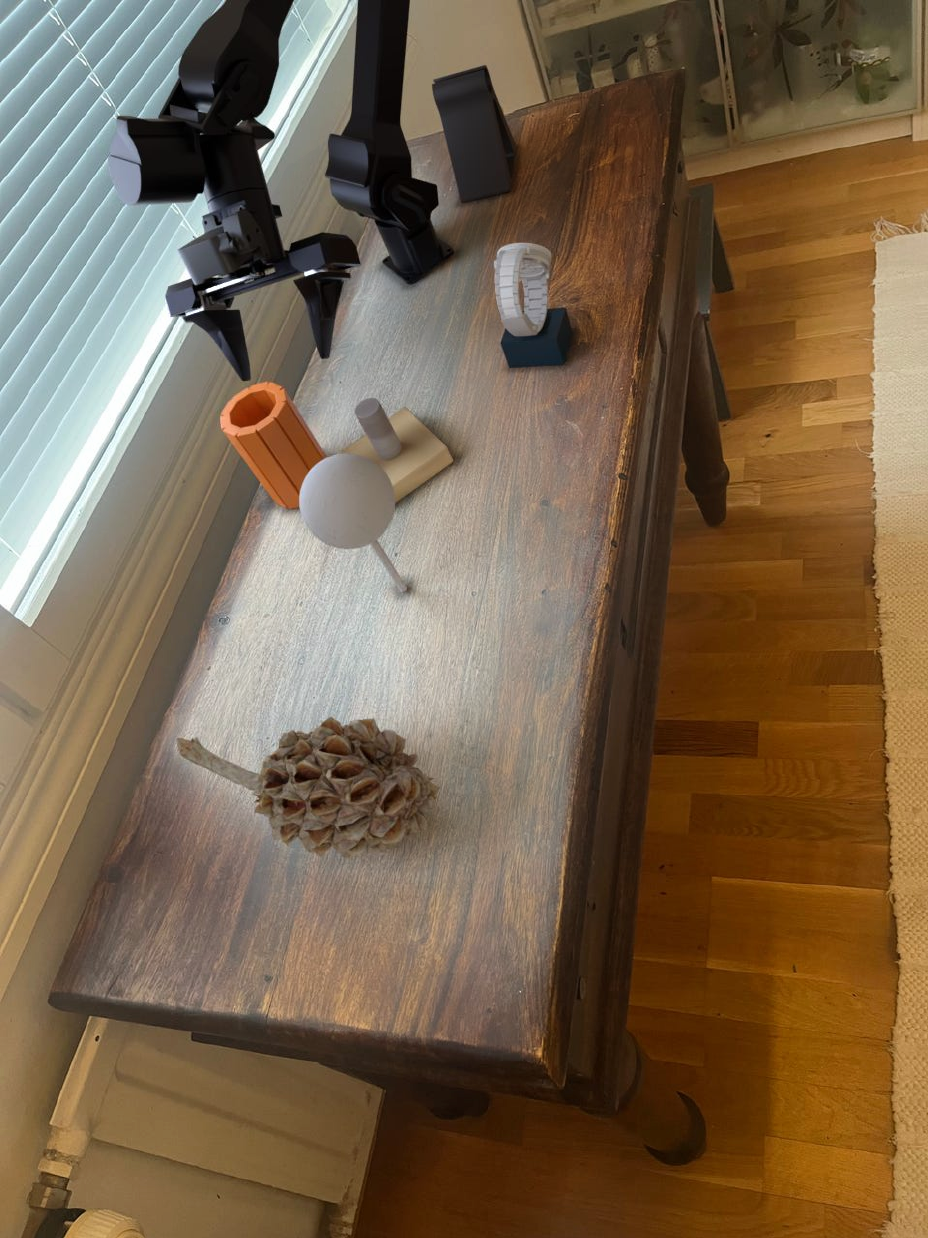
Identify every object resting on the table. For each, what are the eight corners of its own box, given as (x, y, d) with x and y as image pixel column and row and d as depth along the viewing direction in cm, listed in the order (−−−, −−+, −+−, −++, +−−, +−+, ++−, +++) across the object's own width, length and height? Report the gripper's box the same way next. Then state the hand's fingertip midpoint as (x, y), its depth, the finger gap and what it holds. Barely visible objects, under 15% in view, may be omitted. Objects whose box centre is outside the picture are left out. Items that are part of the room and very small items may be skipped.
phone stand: (510, 192, 106) (480, 89, 97) (461, 204, 108) (426, 103, 99) (517, 148, 111) (488, 45, 102) (470, 160, 113) (437, 60, 104)
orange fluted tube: (262, 485, 92) (209, 412, 84) (317, 447, 92) (269, 371, 84) (288, 519, 88) (235, 447, 80) (345, 479, 88) (297, 403, 80)
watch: (577, 319, 91) (550, 220, 82) (560, 377, 87) (530, 280, 78) (522, 323, 93) (491, 227, 84) (504, 381, 89) (469, 286, 80)
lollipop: (454, 557, 78) (386, 433, 67) (426, 628, 75) (350, 510, 64) (382, 552, 82) (305, 432, 70) (352, 620, 78) (267, 506, 67)
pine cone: (475, 764, 67) (429, 698, 59) (439, 895, 62) (383, 842, 55) (227, 733, 76) (158, 672, 68) (179, 845, 71) (99, 794, 63)
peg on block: (345, 468, 89) (310, 412, 83) (412, 421, 90) (383, 362, 84) (383, 512, 84) (349, 456, 78) (454, 461, 85) (426, 402, 79)
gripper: (101, 222, 82) (155, 399, 86) (272, 153, 74) (324, 350, 78) (181, 230, 92) (227, 388, 96) (340, 170, 84) (383, 344, 88)
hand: (285, 369), depth 89 cm, fingers open, 9 cm apart
